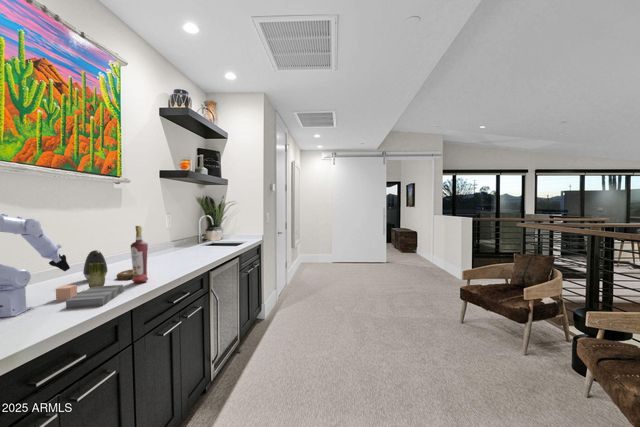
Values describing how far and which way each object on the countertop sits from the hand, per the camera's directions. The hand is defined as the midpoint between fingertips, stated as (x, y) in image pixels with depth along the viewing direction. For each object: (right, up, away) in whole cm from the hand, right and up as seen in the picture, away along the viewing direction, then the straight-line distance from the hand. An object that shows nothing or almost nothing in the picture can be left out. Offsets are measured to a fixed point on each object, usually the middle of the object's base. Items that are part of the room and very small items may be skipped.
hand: (63, 265), depth 129 cm
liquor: (+20, -12, +22) cm, 32 cm away
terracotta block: (+4, -13, -3) cm, 14 cm away
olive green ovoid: (-8, -12, +30) cm, 33 cm away
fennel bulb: (+6, -13, +11) cm, 18 cm away
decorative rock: (+7, -12, +34) cm, 37 cm away
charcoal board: (+18, -13, -5) cm, 23 cm away
